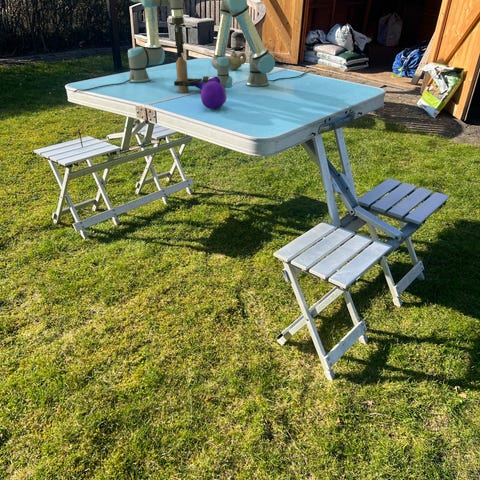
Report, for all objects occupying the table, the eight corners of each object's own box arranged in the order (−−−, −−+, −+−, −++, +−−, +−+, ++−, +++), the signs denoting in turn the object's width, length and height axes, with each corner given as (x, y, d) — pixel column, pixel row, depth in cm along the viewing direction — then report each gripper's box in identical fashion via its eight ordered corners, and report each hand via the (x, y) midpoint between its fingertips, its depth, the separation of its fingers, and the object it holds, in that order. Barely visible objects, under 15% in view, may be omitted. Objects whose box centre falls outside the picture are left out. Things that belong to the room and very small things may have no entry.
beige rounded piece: (226, 72, 363) (226, 52, 355) (220, 70, 372) (219, 50, 364) (249, 69, 372) (249, 50, 365) (242, 67, 381) (241, 48, 373)
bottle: (190, 91, 306) (188, 54, 294) (183, 93, 301) (180, 55, 289) (183, 90, 310) (180, 53, 298) (176, 92, 305) (172, 54, 293)
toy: (213, 100, 281) (226, 115, 260) (186, 95, 274) (197, 111, 253) (219, 74, 273) (233, 88, 252) (191, 69, 266) (203, 83, 245)
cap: (177, 57, 292) (176, 53, 291) (178, 56, 296) (178, 52, 295) (182, 57, 292) (182, 53, 291) (184, 56, 295) (184, 52, 294)
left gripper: (174, 15, 291) (178, 54, 302) (168, 18, 274) (171, 58, 286) (186, 15, 290) (189, 54, 302) (180, 18, 274) (183, 58, 285)
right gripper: (207, 91, 294) (172, 91, 296) (211, 85, 311) (179, 85, 313) (206, 79, 290) (171, 79, 292) (211, 73, 307) (178, 73, 309)
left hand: (180, 56), depth 294 cm, fingers open, 6 cm apart
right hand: (175, 82), depth 303 cm, fingers closed on bottle, 7 cm apart
